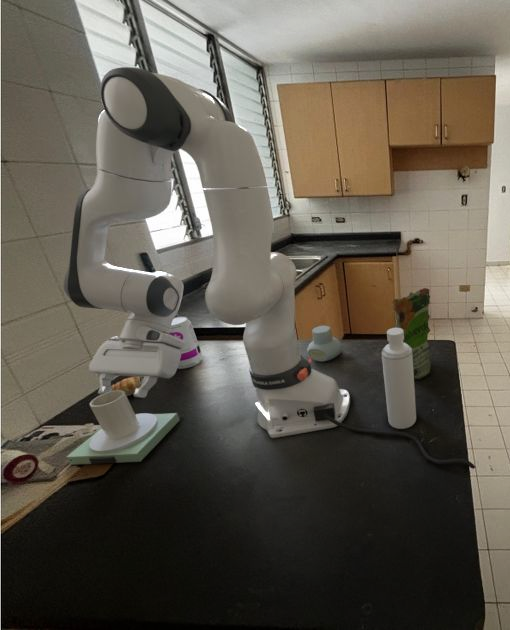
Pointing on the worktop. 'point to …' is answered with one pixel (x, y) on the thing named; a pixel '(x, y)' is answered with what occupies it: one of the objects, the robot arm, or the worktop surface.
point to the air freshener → (323, 344)
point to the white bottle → (399, 380)
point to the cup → (115, 414)
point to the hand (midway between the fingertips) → (121, 396)
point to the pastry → (128, 385)
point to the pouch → (415, 328)
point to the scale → (125, 442)
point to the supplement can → (186, 342)
